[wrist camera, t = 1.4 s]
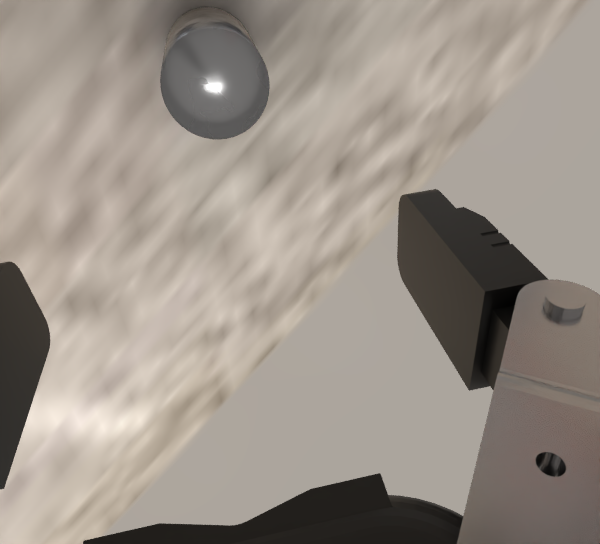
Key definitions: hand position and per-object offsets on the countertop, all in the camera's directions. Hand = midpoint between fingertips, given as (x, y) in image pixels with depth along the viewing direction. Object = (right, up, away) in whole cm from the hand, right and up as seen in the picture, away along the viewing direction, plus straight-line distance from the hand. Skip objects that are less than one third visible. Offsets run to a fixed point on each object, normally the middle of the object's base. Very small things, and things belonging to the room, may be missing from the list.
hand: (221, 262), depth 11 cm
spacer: (-3, +11, +15) cm, 18 cm away
